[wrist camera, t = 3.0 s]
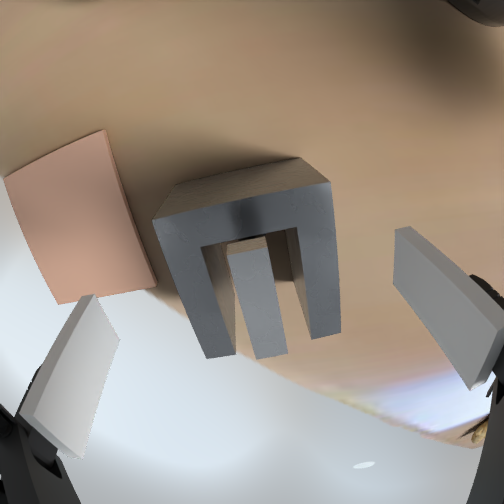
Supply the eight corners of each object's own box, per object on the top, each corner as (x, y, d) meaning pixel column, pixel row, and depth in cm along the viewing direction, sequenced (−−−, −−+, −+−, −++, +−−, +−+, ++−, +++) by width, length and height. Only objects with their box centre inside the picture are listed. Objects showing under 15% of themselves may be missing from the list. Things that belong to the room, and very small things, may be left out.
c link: (175, 184, 21) (151, 220, 14) (300, 157, 20) (330, 181, 14) (211, 298, 25) (206, 358, 19) (316, 276, 25) (340, 332, 19)
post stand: (221, 187, 21) (211, 258, 12) (260, 179, 21) (282, 244, 12) (239, 260, 24) (244, 361, 14) (274, 253, 24) (299, 350, 14)
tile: (7, 177, 19) (3, 178, 18) (105, 129, 18) (102, 130, 18) (60, 301, 25) (58, 304, 24) (157, 282, 24) (156, 286, 24)
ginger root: (526, 395, 48) (532, 419, 41) (484, 422, 57) (488, 444, 51) (513, 391, 44) (521, 418, 38) (464, 421, 53) (469, 447, 47)
